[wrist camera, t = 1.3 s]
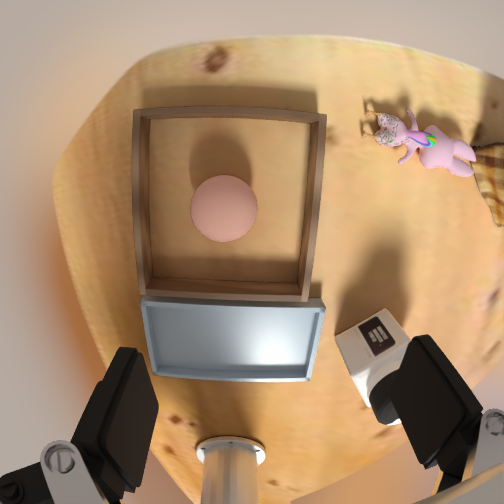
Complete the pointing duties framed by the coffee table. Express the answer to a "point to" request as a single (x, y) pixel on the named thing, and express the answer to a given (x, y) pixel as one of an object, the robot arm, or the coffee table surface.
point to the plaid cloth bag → (491, 177)
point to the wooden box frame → (220, 287)
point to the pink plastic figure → (424, 144)
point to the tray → (232, 338)
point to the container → (375, 360)
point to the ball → (223, 208)
